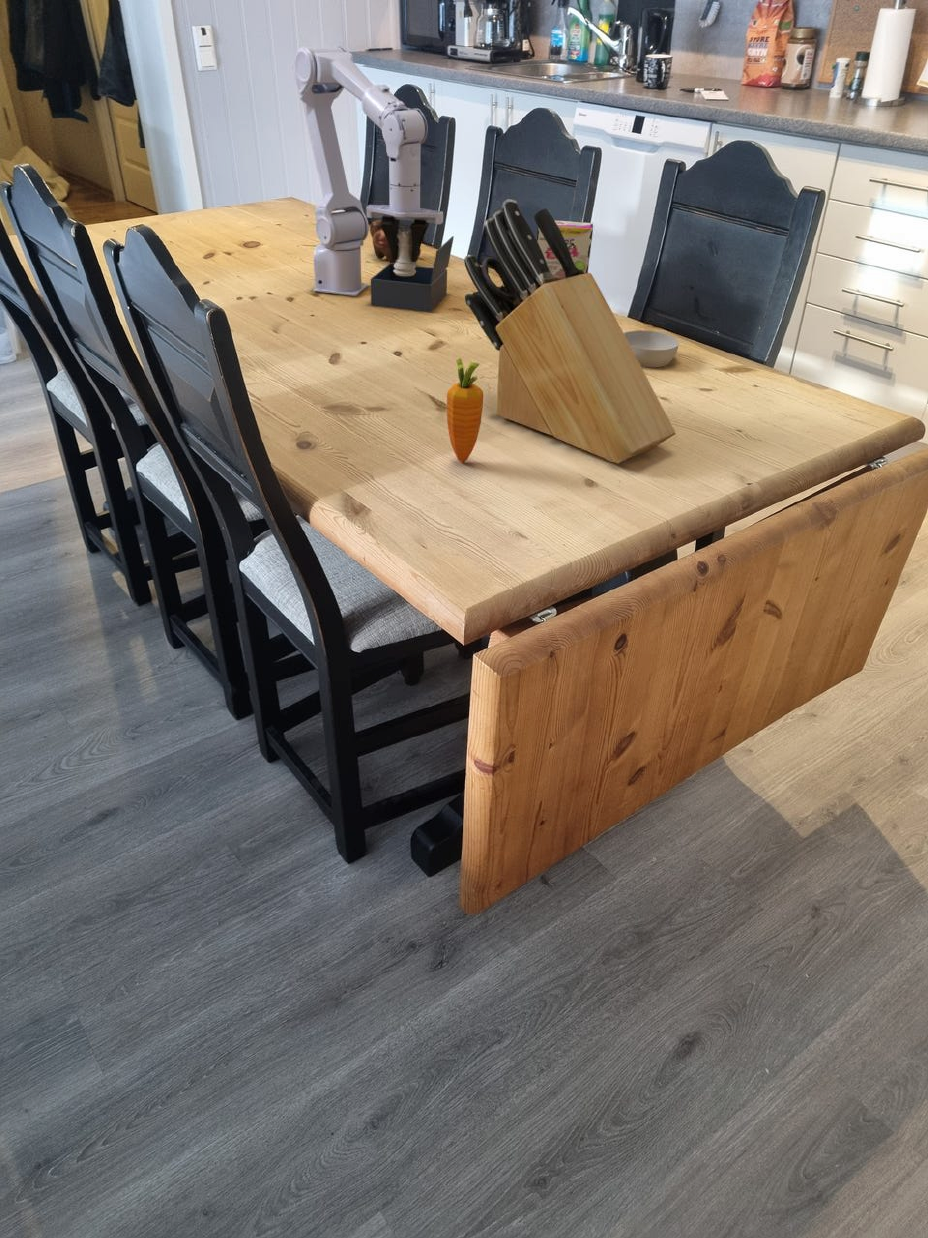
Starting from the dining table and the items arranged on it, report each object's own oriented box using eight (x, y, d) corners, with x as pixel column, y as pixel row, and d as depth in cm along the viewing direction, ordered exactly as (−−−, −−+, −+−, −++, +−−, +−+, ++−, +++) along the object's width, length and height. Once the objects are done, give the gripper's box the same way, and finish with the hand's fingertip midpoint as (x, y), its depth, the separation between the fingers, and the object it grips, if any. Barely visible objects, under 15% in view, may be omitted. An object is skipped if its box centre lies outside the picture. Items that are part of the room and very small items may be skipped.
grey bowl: (667, 373, 164) (670, 352, 161) (570, 355, 169) (573, 334, 167) (682, 355, 172) (685, 334, 169) (589, 338, 178) (592, 318, 175)
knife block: (500, 382, 157) (512, 184, 139) (674, 451, 137) (714, 230, 119) (452, 399, 150) (459, 193, 132) (628, 473, 131) (663, 243, 113)
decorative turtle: (381, 249, 225) (384, 214, 220) (431, 266, 218) (434, 230, 214) (355, 255, 218) (357, 219, 213) (405, 272, 211) (408, 235, 207)
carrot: (443, 455, 133) (446, 352, 125) (478, 455, 134) (483, 352, 125) (446, 470, 129) (449, 365, 121) (481, 470, 130) (487, 365, 121)
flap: (446, 265, 194) (448, 266, 194) (430, 281, 184) (432, 282, 184) (452, 235, 190) (453, 236, 190) (436, 250, 180) (437, 250, 180)
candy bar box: (530, 308, 192) (536, 223, 182) (531, 300, 196) (537, 218, 186) (584, 311, 191) (593, 227, 182) (584, 304, 195) (593, 221, 186)
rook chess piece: (419, 272, 182) (420, 229, 178) (411, 277, 179) (411, 234, 174) (398, 269, 184) (398, 226, 179) (389, 274, 180) (389, 231, 175)
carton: (446, 295, 197) (447, 269, 194) (430, 312, 187) (431, 285, 184) (389, 288, 199) (389, 263, 196) (371, 305, 189) (370, 278, 186)
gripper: (360, 184, 170) (362, 261, 178) (436, 190, 167) (435, 268, 175) (372, 177, 176) (374, 252, 183) (446, 183, 173) (444, 259, 181)
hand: (404, 259), depth 180 cm, fingers closed on rook chess piece, 3 cm apart
